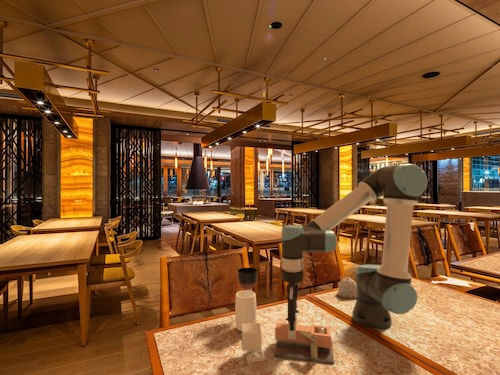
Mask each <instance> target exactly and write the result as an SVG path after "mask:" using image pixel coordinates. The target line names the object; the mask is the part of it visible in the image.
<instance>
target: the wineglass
mask: <svg viewBox="0 0 500 375" xmlns="http://www.w3.org/2000/svg"><path fill="white" fill-rule="evenodd" d="M237 278H238V283H239V286H240V288H242V289H244V290H248V291H251V290H252V289H253V288H255V287H256V285H257V280H258V269H257V268H254V267H241V268H239V269H238V270H237Z"/></svg>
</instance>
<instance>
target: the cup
mask: <svg viewBox="0 0 500 375" xmlns="http://www.w3.org/2000/svg"><path fill="white" fill-rule="evenodd" d="M234 303H235V309H234V310H235V311H234V312H235V315H234V316H235V328H236V329H237V330H238V331H240V332H241V324H248V323H257V298H256V292H254V291H253V290H249V291H248V290H246V289H244V290H239V291H237V292H236V294H235V302H234Z"/></svg>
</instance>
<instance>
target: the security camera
mask: <svg viewBox="0 0 500 375" xmlns="http://www.w3.org/2000/svg"><path fill="white" fill-rule="evenodd" d="M240 332H241V334H240V335H241V337H240V338H241V339H240V340H241V349H242V352H245V354H246V355H245V356H246V362H248V363H251V362H264V360H265V356H264V353H263V352H264V351H263V348H262V328H261V324H260V322H256V323H248V324H241V331H240Z"/></svg>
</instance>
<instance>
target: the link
mask: <svg viewBox="0 0 500 375" xmlns="http://www.w3.org/2000/svg"><path fill="white" fill-rule="evenodd" d="M319 327H324V328H325V334H321V333H318V328H319ZM274 329H275V330H274V334H275V335H274V339H275V340H286V341H294V342H301V343H309V344H311V342H310V341H308V340H306V339H304V338H303V337H301V336H299V332H301V331H303V330H304V331H306V332H307V333H309V334H311V335H313V336H317V338H318V342H317V347H323V348H331V340H332V335H331V334H332V332H331V326H326V325H319V324H318V325H317V324H311V325H303V324H302V325H301V324H297V325H296V339H288V323H285V322H276V324H275V328H274Z"/></svg>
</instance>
